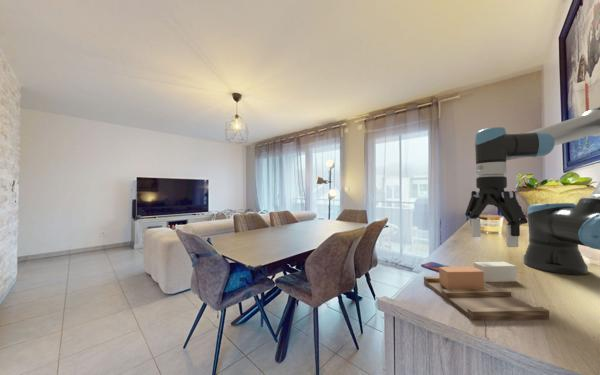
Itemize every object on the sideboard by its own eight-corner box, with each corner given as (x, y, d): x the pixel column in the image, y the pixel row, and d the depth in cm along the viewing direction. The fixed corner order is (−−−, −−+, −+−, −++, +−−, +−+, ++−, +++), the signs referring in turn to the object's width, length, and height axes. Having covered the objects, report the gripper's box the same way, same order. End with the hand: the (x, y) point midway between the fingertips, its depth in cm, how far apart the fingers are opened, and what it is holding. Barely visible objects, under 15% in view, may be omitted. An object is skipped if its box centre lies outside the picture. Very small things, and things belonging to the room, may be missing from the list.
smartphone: (432, 264, 87) (431, 261, 87) (475, 276, 74) (475, 273, 74) (419, 267, 84) (419, 264, 84) (462, 280, 70) (462, 277, 71)
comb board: (478, 281, 69) (478, 275, 69) (549, 319, 49) (549, 310, 49) (424, 282, 69) (423, 276, 69) (472, 320, 49) (472, 311, 49)
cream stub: (504, 276, 72) (504, 261, 73) (516, 281, 68) (515, 265, 69) (474, 277, 73) (473, 262, 73) (484, 282, 69) (483, 266, 69)
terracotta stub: (473, 283, 66) (472, 266, 66) (484, 289, 62) (483, 271, 62) (439, 283, 66) (439, 267, 66) (448, 289, 62) (447, 272, 62)
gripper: (453, 178, 84) (454, 233, 83) (516, 173, 59) (518, 252, 58) (472, 178, 83) (474, 233, 83) (544, 173, 58) (547, 252, 58)
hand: (492, 241), depth 71 cm, fingers open, 13 cm apart
